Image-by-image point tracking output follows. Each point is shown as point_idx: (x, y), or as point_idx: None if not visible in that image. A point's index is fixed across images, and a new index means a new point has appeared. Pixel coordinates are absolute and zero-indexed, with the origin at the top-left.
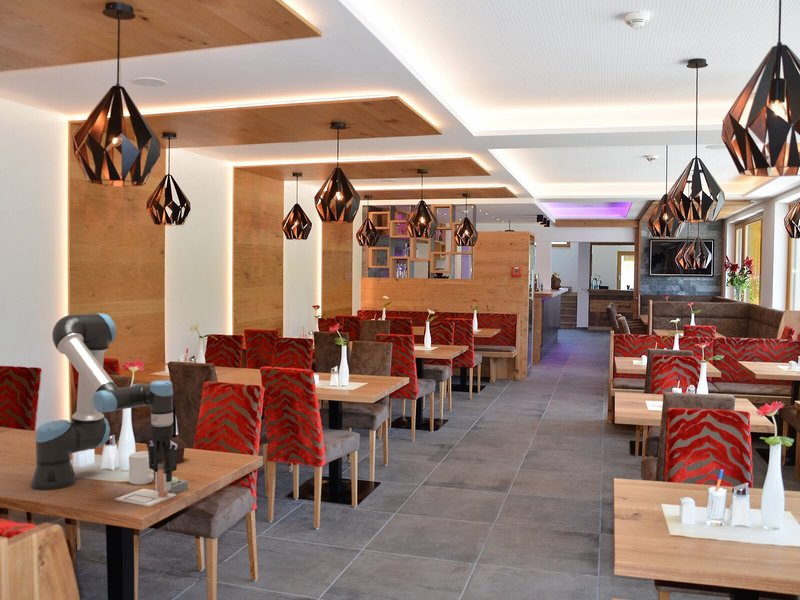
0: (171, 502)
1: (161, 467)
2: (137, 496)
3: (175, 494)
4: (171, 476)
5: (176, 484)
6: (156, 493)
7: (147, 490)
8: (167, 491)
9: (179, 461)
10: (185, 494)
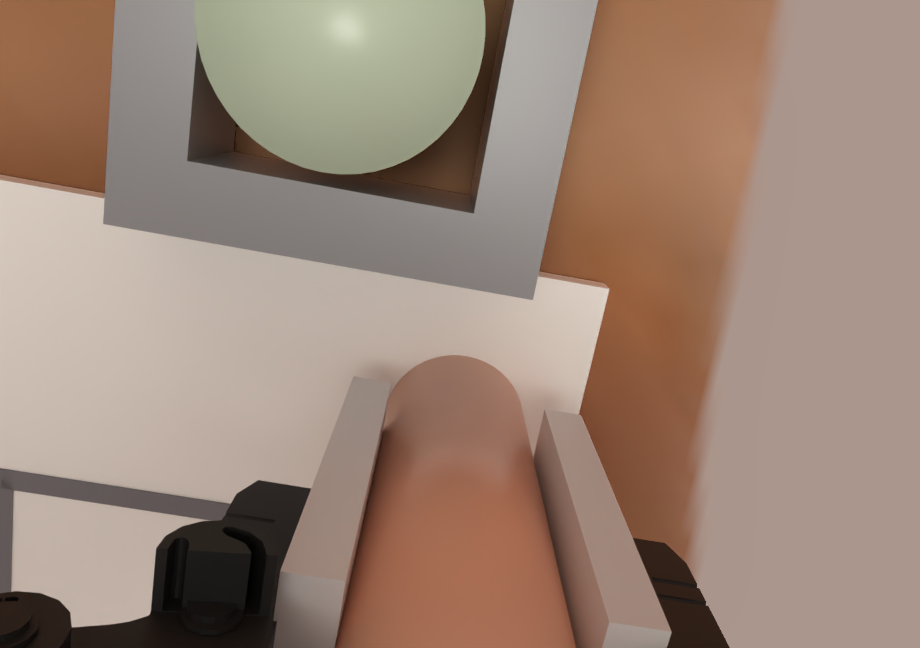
0: (683, 543)
1: None
2: (102, 530)
3: (600, 304)
4: (707, 622)
5: (527, 136)
6: (275, 341)
7: (20, 241)
8: (526, 429)
9: None
10: (705, 175)
